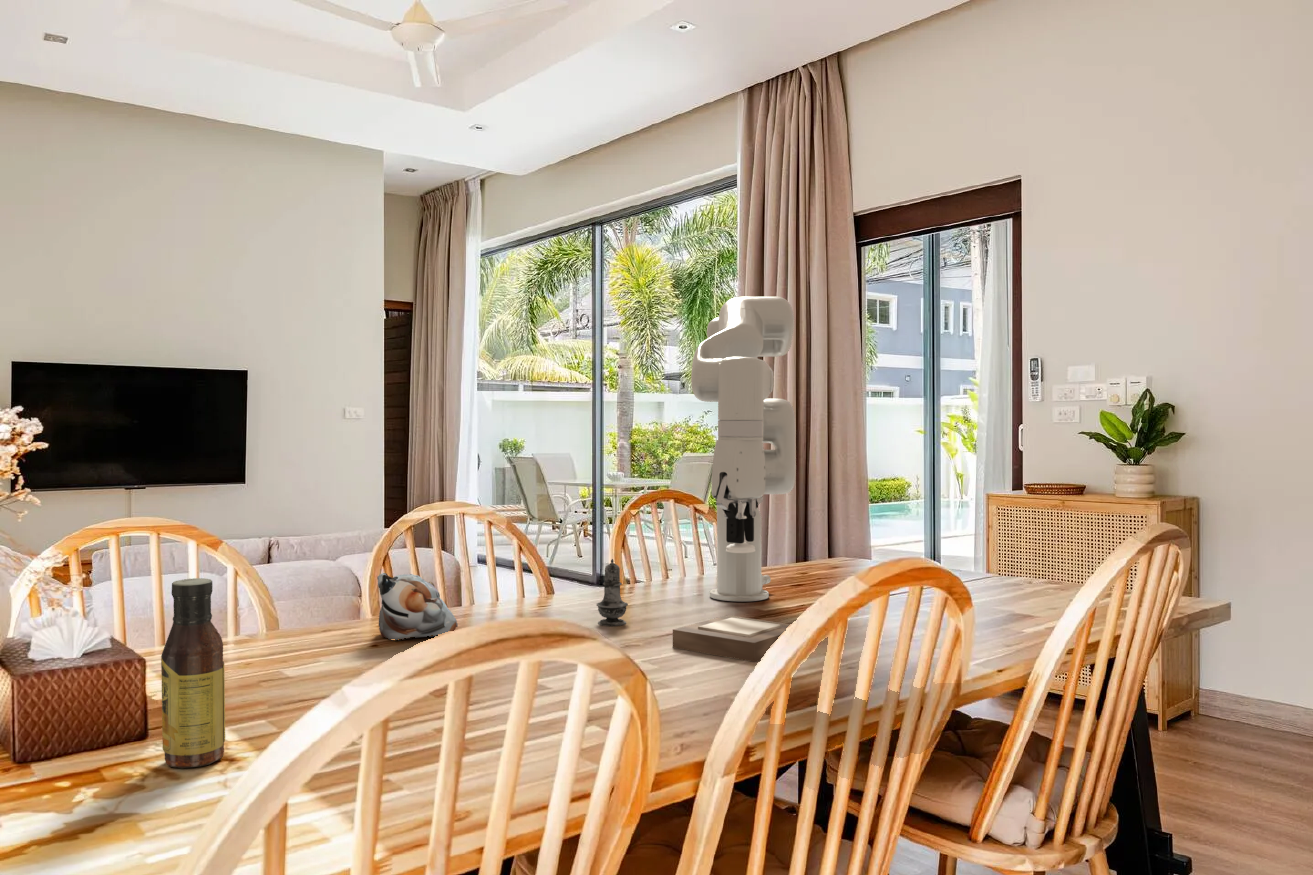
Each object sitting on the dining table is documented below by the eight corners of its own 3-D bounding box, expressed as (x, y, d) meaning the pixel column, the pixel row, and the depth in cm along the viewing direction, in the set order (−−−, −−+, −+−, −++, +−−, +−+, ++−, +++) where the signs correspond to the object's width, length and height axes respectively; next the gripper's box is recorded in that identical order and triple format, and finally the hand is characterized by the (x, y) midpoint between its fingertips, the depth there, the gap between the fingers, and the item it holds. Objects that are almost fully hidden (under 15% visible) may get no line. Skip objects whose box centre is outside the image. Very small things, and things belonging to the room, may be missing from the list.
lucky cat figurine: (473, 632, 176) (468, 569, 169) (424, 671, 167) (416, 606, 160) (412, 600, 183) (405, 538, 176) (362, 636, 174) (352, 573, 167)
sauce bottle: (176, 752, 112) (175, 575, 111) (233, 750, 112) (233, 575, 112) (151, 772, 105) (150, 585, 105) (212, 771, 106) (212, 584, 105)
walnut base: (727, 631, 177) (727, 612, 177) (805, 644, 167) (805, 624, 167) (672, 647, 165) (672, 626, 165) (754, 661, 155) (754, 640, 155)
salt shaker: (629, 620, 187) (629, 556, 187) (625, 626, 182) (625, 561, 181) (598, 619, 188) (599, 556, 188) (593, 626, 182) (594, 560, 182)
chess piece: (758, 549, 168) (758, 490, 167) (751, 553, 163) (750, 492, 163) (730, 548, 169) (729, 489, 169) (722, 552, 165) (721, 492, 164)
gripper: (747, 431, 174) (747, 536, 175) (694, 431, 162) (693, 544, 162) (784, 431, 170) (784, 539, 170) (732, 432, 157) (732, 548, 157)
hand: (740, 540), depth 166 cm, fingers closed on chess piece
